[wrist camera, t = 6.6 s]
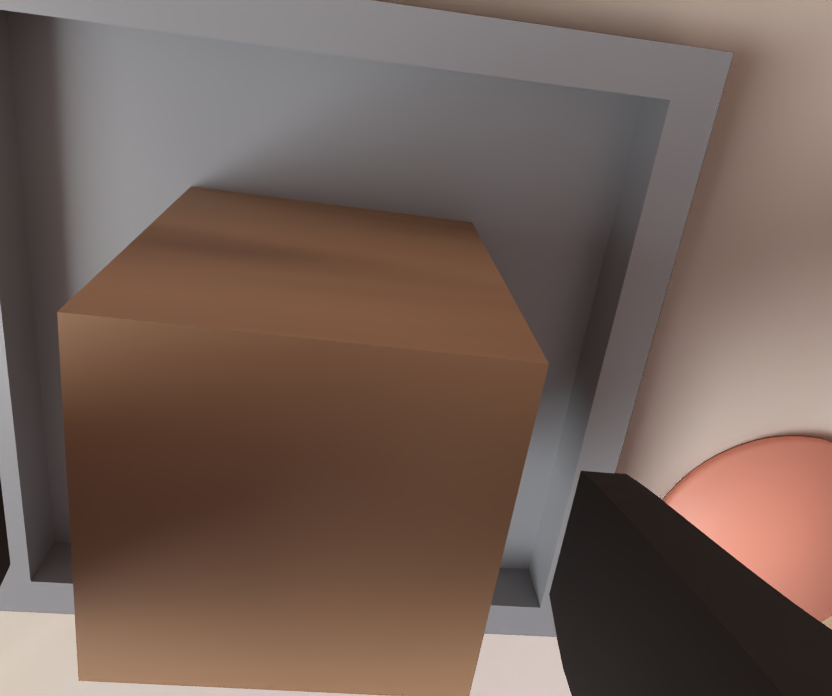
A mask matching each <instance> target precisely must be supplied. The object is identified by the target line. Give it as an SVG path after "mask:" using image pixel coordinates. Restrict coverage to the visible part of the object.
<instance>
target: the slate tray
mask: <svg viewBox="0 0 832 696" xmlns="http://www.w3.org/2000/svg"><path fill="white" fill-rule="evenodd" d="M733 54H734V52H728V51H721V50H714V49H707V48H700V47H693V46H686V45H679V44H672V43H665V42H658V41H651V40H644V39H638V38H631V37H624V36H617V35H610V34H603V33H596V32H589V31H582V30H575V29H568V28H561V27H554V26H547V25H540V24H534V23H527V22H520V21H513V20H506V19H499V18H492V17H485V16H478V15H471V14H464V13H457V12H450V11H443V10H437V9H430V8H423V7H416V6H409V5H402V4H395V3H388V2H381V1H374V0H0V479H1V487H2V496H3V504H4V513H5V521H6V530H7V538H8V547H9V555H10V567H9V569H8V571H7V573H6V575H5V577H4V580H3V582H2V584H1V586H0V611H16V612H37V613H58V614H75V608H74V591H73V574H72V557H71V540H70V523H69V506H68V489H67V472H66V455H65V438H64V421H63V404H62V386H61V369H60V352H59V335H58V318H57V312H58V311H59V310H60V309H61V308H62V307H63V306H64V305H65V304H66V303H67V302H68V301H69V300H70V299H71V298H73V297H74V296H75V295H76V294H77V293H78V292H79V291H80V290H81V289H82V288H83V287H84V286H85V285H86V284H87V283H89V282H90V281H91V280H92V279H93V278H94V277H95V276H96V275H97V274H98V273H99V272H100V271H101V270H102V269H103V268H105V267H106V266H107V265H108V264H109V263H110V262H111V261H112V260H113V259H114V258H115V257H116V256H117V255H118V254H119V253H120V252H122V251H123V250H124V249H125V248H126V247H127V246H128V245H129V244H130V243H131V242H132V241H133V240H134V239H135V238H136V237H138V236H139V235H140V234H141V233H142V232H143V231H144V230H145V229H146V228H147V227H148V226H149V225H150V224H151V223H152V222H154V221H155V220H156V219H157V218H158V217H159V216H160V215H161V214H162V213H163V212H164V211H165V210H166V209H167V208H168V207H170V206H171V205H172V204H173V203H174V202H175V201H176V200H177V199H178V198H179V197H180V196H181V195H182V194H183V193H184V192H186V191H187V190H188V189H189V188H190V187H197V188H205V189H213V190H221V191H229V192H236V193H244V194H252V195H260V196H268V197H276V198H284V199H291V200H299V201H307V202H315V203H323V204H331V205H339V206H347V207H354V208H362V209H370V210H378V211H386V212H394V213H402V214H409V215H417V216H425V217H433V218H441V219H449V220H457V221H464V222H472V223H473V225H474V227H475V229H476V231H477V232H478V234H479V236H480V238H481V240H482V242H483V243H484V245H485V247H486V249H487V251H488V253H489V255H490V256H491V258H492V260H493V262H494V264H495V266H496V267H497V269H498V271H499V273H500V275H501V277H502V278H503V280H504V282H505V284H506V286H507V288H508V289H509V291H510V293H511V295H512V297H513V299H514V300H515V302H516V304H517V306H518V308H519V310H520V311H521V313H522V315H523V317H524V319H525V321H526V323H527V324H528V326H529V328H530V330H531V332H532V334H533V335H534V337H535V339H536V341H537V343H538V345H539V346H540V348H541V350H542V352H543V354H544V356H545V357H546V359H547V361H548V363H549V365H548V369H547V373H546V377H545V382H544V386H543V390H542V394H541V398H540V402H539V407H538V411H537V415H536V419H535V423H534V427H533V432H532V436H531V440H530V444H529V448H528V452H527V457H526V461H525V465H524V469H523V473H522V477H521V482H520V486H519V490H518V494H517V498H516V502H515V507H514V511H513V515H512V519H511V523H510V527H509V532H508V536H507V540H506V544H505V548H504V552H503V557H502V561H501V565H500V569H499V573H498V577H497V582H496V586H495V590H494V594H493V598H492V602H491V607H490V611H489V615H488V619H487V623H486V627H485V632H484V634H505V635H527V636H548V637H557V635H556V630H555V624H554V619H553V613H552V608H551V602H550V596H549V593H550V589H551V585H552V581H553V577H554V573H555V570H556V566H557V562H558V558H559V554H560V550H561V546H562V542H563V538H564V535H565V531H566V527H567V523H568V519H569V515H570V511H571V507H572V503H573V500H574V496H575V492H576V488H577V484H578V480H579V476H580V472H581V471H591V472H604V473H615V471H616V468H617V464H618V461H619V457H620V454H621V450H622V446H623V443H624V439H625V436H626V432H627V429H628V425H629V422H630V418H631V415H632V411H633V408H634V404H635V400H636V397H637V393H638V390H639V386H640V383H641V379H642V376H643V372H644V369H645V365H646V362H647V358H648V354H649V351H650V347H651V344H652V340H653V337H654V333H655V330H656V326H657V323H658V319H659V316H660V312H661V308H662V305H663V301H664V298H665V294H666V291H667V287H668V284H669V280H670V277H671V273H672V270H673V266H674V262H675V259H676V255H677V252H678V248H679V245H680V241H681V238H682V234H683V231H684V227H685V224H686V220H687V216H688V213H689V209H690V206H691V202H692V199H693V195H694V192H695V188H696V185H697V181H698V178H699V174H700V170H701V167H702V163H703V160H704V156H705V153H706V149H707V146H708V142H709V139H710V135H711V132H712V128H713V124H714V121H715V117H716V114H717V110H718V107H719V103H720V100H721V96H722V93H723V89H724V86H725V82H726V79H727V75H728V71H729V68H730V64H731V61H732V57H733Z"/></svg>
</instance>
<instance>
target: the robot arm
mask: <svg viewBox="0 0 832 696" xmlns="http://www.w3.org/2000/svg"><path fill="white" fill-rule="evenodd" d="M9 567H10V555H9V547H8V538H7V530H6V521H5V513H4V504H3V496H2V487H1V479H0V586H1V584H2V582H3V580H4V577H5V575H6V573H7V571H8V569H9ZM549 596H550V602H551V608H552V613H553V619H554V624H555V630H556V635H557V640H558V645H559V650H560V655H561V660H562V664H563V669H564V672H565V675H566V679H567V682H568V685H569V688H570V691H571V694H572V696H832V630H831V629H830V628H828V627H827V626H825V625H824V624H823V623H821V622H820V621H818V620H817V619H816V618H814V617H813V616H811V615H810V614H809V613H807V612H806V611H804V610H803V609H802V608H800V607H799V606H797V605H796V604H795V603H793V602H792V601H791V600H789V599H788V598H787V597H785V596H784V595H783V594H781V593H780V592H779V591H777V590H776V589H775V588H773V587H772V586H771V585H769V584H768V583H767V582H765V581H764V580H763V579H761V578H760V577H759V576H758V575H756V574H755V573H754V572H752V571H751V570H750V569H748V568H747V567H746V566H745V565H743V564H742V563H741V562H740V561H738V560H737V559H736V558H734V557H733V556H732V555H731V554H729V553H728V552H727V551H726V550H724V549H723V548H722V547H720V546H719V545H718V544H717V543H715V542H714V541H713V540H712V539H710V538H709V537H708V536H707V535H705V534H704V533H703V532H702V531H700V530H699V529H698V528H697V527H695V526H694V525H693V524H692V523H690V522H689V521H688V520H687V519H685V518H684V517H683V516H682V515H680V514H679V513H678V512H677V511H675V510H674V509H673V508H672V507H670V506H669V505H668V504H667V503H665V502H664V501H663V500H661V499H660V498H659V497H658V496H656V495H655V494H654V493H652V492H651V491H650V490H648V489H647V488H646V487H644V486H643V485H642V484H640V483H639V482H637V481H636V480H634V479H633V478H631V477H630V476H628V475H627V474H617V473H604V472H591V471H581V472H580V476H579V480H578V484H577V488H576V492H575V496H574V500H573V503H572V507H571V511H570V515H569V519H568V523H567V527H566V531H565V535H564V538H563V542H562V546H561V550H560V554H559V558H558V562H557V566H556V570H555V573H554V577H553V581H552V585H551V589H550V593H549Z"/></svg>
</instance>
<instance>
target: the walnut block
mask: <svg viewBox="0 0 832 696" xmlns="http://www.w3.org/2000/svg"><path fill="white" fill-rule="evenodd" d="M57 318H58V335H59V352H60V369H61V386H62V404H63V421H64V438H65V455H66V472H67V489H68V506H69V523H70V540H71V557H72V574H73V591H74V608H75V626H76V643H77V660H78V677H79V681H97V682H118V683H139V684H160V685H181V686H202V687H223V688H244V689H264V690H285V691H306V692H327V693H348V694H369V695H390V696H469V694H470V690H471V686H472V682H473V677H474V673H475V669H476V665H477V661H478V657H479V652H480V648H481V644H482V640H483V636H484V632H485V627H486V623H487V619H488V615H489V611H490V607H491V602H492V598H493V594H494V590H495V586H496V582H497V577H498V573H499V569H500V565H501V561H502V557H503V552H504V548H505V544H506V540H507V536H508V532H509V527H510V523H511V519H512V515H513V511H514V507H515V502H516V498H517V494H518V490H519V486H520V482H521V477H522V473H523V469H524V465H525V461H526V457H527V452H528V448H529V444H530V440H531V436H532V432H533V427H534V423H535V419H536V415H537V411H538V407H539V402H540V398H541V394H542V390H543V386H544V382H545V377H546V373H547V369H548V365H549V363H548V361H547V359H546V357H545V356H544V354H543V352H542V350H541V348H540V346H539V345H538V343H537V341H536V339H535V337H534V335H533V334H532V332H531V330H530V328H529V326H528V324H527V323H526V321H525V319H524V317H523V315H522V313H521V311H520V310H519V308H518V306H517V304H516V302H515V300H514V299H513V297H512V295H511V293H510V291H509V289H508V288H507V286H506V284H505V282H504V280H503V278H502V277H501V275H500V273H499V271H498V269H497V267H496V266H495V264H494V262H493V260H492V258H491V256H490V255H489V253H488V251H487V249H486V247H485V245H484V243H483V242H482V240H481V238H480V236H479V234H478V232H477V231H476V229H475V227H474V225H473V223H472V222H464V221H457V220H449V219H441V218H433V217H425V216H417V215H409V214H402V213H394V212H386V211H378V210H370V209H362V208H354V207H347V206H339V205H331V204H323V203H315V202H307V201H299V200H291V199H284V198H276V197H268V196H260V195H252V194H244V193H236V192H229V191H221V190H213V189H205V188H197V187H190V188H189V189H188V190H187V191H186V192H184V193H183V194H182V195H181V196H180V197H179V198H178V199H177V200H176V201H175V202H174V203H173V204H172V205H171V206H170V207H168V208H167V209H166V210H165V211H164V212H163V213H162V214H161V215H160V216H159V217H158V218H157V219H156V220H155V221H154V222H152V223H151V224H150V225H149V226H148V227H147V228H146V229H145V230H144V231H143V232H142V233H141V234H140V235H139V236H138V237H136V238H135V239H134V240H133V241H132V242H131V243H130V244H129V245H128V246H127V247H126V248H125V249H124V250H123V251H122V252H120V253H119V254H118V255H117V256H116V257H115V258H114V259H113V260H112V261H111V262H110V263H109V264H108V265H107V266H106V267H105V268H103V269H102V270H101V271H100V272H99V273H98V274H97V275H96V276H95V277H94V278H93V279H92V280H91V281H90V282H89V283H87V284H86V285H85V286H84V287H83V288H82V289H81V290H80V291H79V292H78V293H77V294H76V295H75V296H74V297H73V298H71V299H70V300H69V301H68V302H67V303H66V304H65V305H64V306H63V307H62V308H61V309H60V310H59V311H58V312H57Z"/></svg>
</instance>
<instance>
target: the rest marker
mask: <svg viewBox="0 0 832 696" xmlns="http://www.w3.org/2000/svg"><path fill="white" fill-rule="evenodd" d="M663 501H664V502H665V503H667V504H668V505H669V506H670V507H672V508H673V509H674V510H675V511H677V512H678V513H679V514H680V515H682V516H683V517H684V518H685V519H687V520H688V521H689V522H690V523H692V524H693V525H694V526H695V527H697V528H698V529H699V530H700V531H702V532H703V533H704V534H705V535H707V536H708V537H709V538H710V539H712V540H713V541H714V542H715V543H717V544H718V545H719V546H720V547H722V548H723V549H724V550H726V551H727V552H728V553H729V554H731V555H732V556H733V557H734V558H736V559H737V560H738V561H740V562H741V563H742V564H743V565H745V566H746V567H747V568H748V569H750V570H751V571H752V572H754V573H755V574H756V575H758V576H759V577H760V578H761V579H763V580H764V581H765V582H767V583H768V584H769V585H771V586H772V587H773V588H775V589H776V590H777V591H779V592H780V593H781V594H783V595H784V596H785V597H787V598H788V599H789V600H791V601H792V602H793V603H795V604H796V605H797V606H799V607H800V608H802V609H803V610H804V611H806V612H807V613H809V614H810V615H811V616H813V617H814V618H816V619H817V620H818V621H820V622H822V621H824V620H825V619H827V618H829V617H830V616H832V442H831V441H827V440H824V439H820V438H813V437H806V436H782V437H771V438H766V439H761V440H756V441H752V442H749V443H746V444H743V445H740V446H737V447H734V448H732V449H730V450H727V451H725V452H723V453H720V454H719V455H717V456H715V457H713V458H711V459H710V460H708V461H706V462H704V463H703V464H701V465H700V466H699V467H697V468H696V469H694V470H693V471H691V472H690V473H689V474H688V475H687V476H685V477H684V478H683V479H682V480H681V481H680V482H678V483H677V484H676V485H675V486H674V488H673V489H672V490H671V491H670V492H669V493H668V494H667V495H666V496H665V498H664V499H663Z"/></svg>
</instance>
